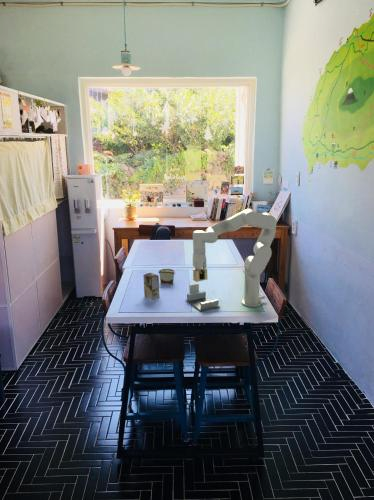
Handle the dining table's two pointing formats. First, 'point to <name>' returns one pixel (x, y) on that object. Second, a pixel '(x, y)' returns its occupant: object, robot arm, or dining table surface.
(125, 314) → the dining table surface
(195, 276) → the block
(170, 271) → the food container
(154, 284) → the coffee box
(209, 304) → the panel
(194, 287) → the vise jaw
